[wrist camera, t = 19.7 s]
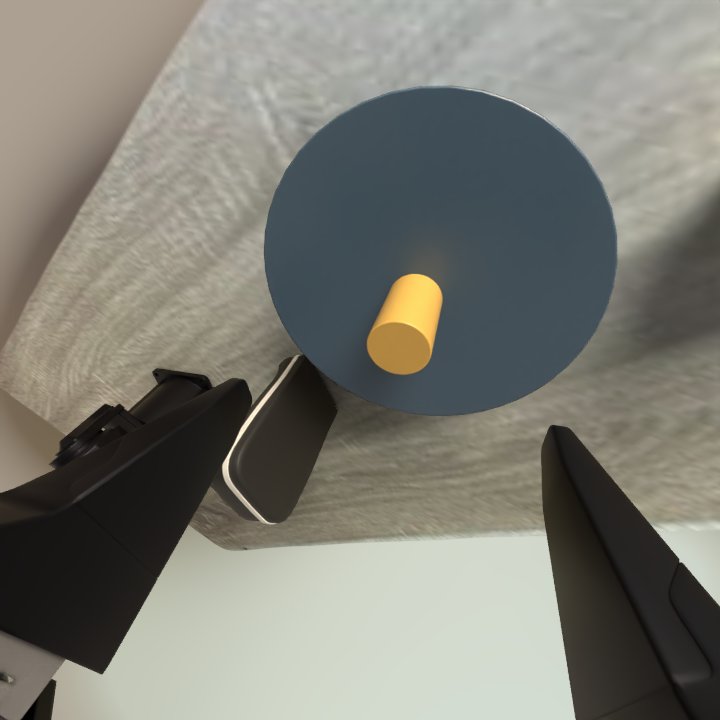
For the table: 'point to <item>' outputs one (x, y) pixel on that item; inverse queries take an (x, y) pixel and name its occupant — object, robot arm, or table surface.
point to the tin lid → (440, 250)
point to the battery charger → (277, 444)
